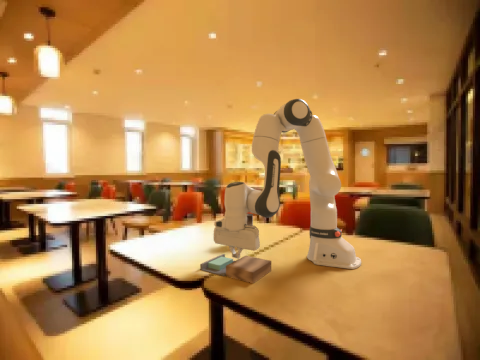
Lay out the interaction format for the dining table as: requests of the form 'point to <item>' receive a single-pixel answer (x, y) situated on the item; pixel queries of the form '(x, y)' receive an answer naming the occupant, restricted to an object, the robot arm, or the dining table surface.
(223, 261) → the pale green rectangular block
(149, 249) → the dining table surface
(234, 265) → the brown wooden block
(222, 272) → the tray
